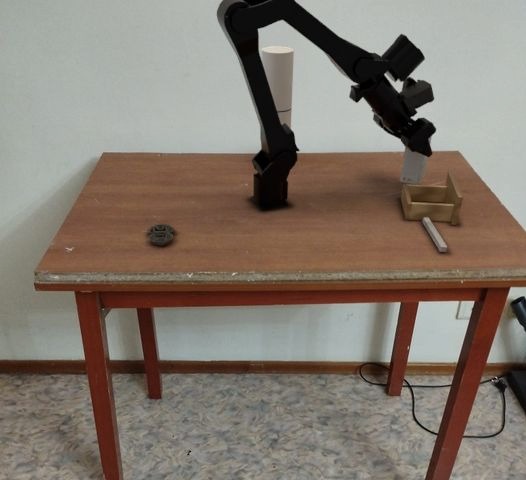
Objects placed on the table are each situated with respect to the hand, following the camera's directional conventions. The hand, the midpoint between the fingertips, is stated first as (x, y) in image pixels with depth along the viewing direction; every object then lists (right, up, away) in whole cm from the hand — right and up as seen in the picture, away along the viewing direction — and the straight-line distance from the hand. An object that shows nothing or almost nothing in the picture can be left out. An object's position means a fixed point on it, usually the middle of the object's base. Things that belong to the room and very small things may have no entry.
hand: (422, 149), depth 129 cm
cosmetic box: (-1, -6, +4) cm, 7 cm away
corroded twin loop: (-55, -22, -15) cm, 61 cm away
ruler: (-2, -22, -13) cm, 26 cm away
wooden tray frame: (0, -14, -4) cm, 15 cm away
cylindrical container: (-32, +3, +18) cm, 37 cm away
